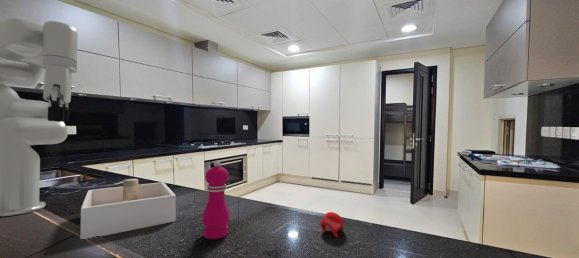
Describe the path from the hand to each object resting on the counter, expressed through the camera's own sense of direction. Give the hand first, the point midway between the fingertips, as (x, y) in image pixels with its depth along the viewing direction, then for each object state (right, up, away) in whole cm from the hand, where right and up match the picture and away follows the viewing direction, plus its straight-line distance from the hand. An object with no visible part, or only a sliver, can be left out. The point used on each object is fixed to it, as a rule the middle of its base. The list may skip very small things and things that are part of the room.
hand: (58, 121), depth 71 cm
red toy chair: (+82, -32, -5) cm, 88 cm away
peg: (+19, -31, +4) cm, 36 cm away
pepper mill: (+50, -31, -7) cm, 59 cm away
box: (+19, -31, +4) cm, 36 cm away
